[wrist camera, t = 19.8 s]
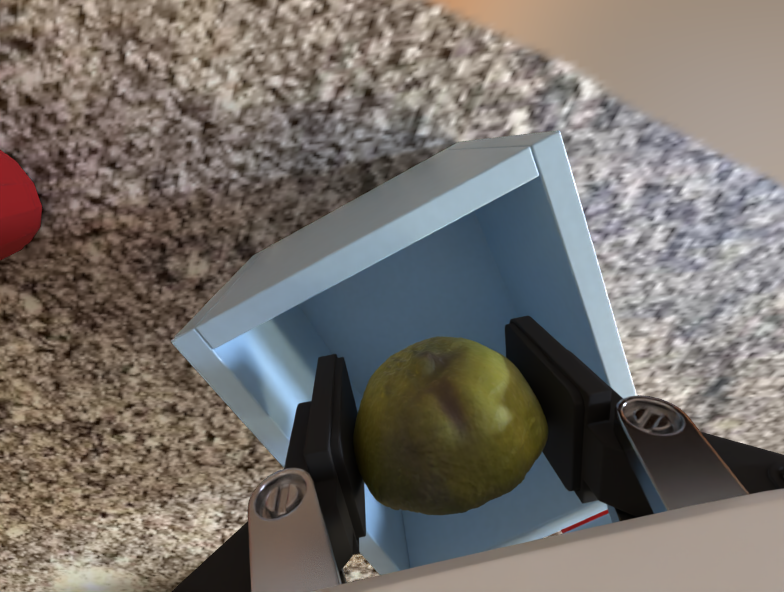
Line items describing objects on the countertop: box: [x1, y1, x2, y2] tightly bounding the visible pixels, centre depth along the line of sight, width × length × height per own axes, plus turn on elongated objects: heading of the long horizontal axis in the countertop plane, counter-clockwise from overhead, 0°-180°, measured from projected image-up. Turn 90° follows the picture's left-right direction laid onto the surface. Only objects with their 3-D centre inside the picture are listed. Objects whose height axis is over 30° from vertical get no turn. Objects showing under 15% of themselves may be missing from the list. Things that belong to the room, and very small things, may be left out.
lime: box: [353, 336, 549, 515], centre depth 10 cm, size 4×5×5 cm
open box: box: [171, 130, 637, 575], centre depth 18 cm, size 16×13×10 cm
